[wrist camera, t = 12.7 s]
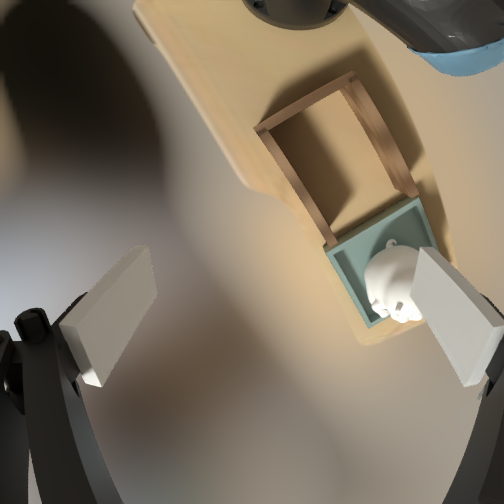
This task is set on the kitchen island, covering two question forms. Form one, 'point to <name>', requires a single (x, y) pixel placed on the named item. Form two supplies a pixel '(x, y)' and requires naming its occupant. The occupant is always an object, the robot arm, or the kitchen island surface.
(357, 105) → the wooden open box
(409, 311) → the figurine
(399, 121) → the kitchen island surface
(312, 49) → the kitchen island surface
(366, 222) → the tray
